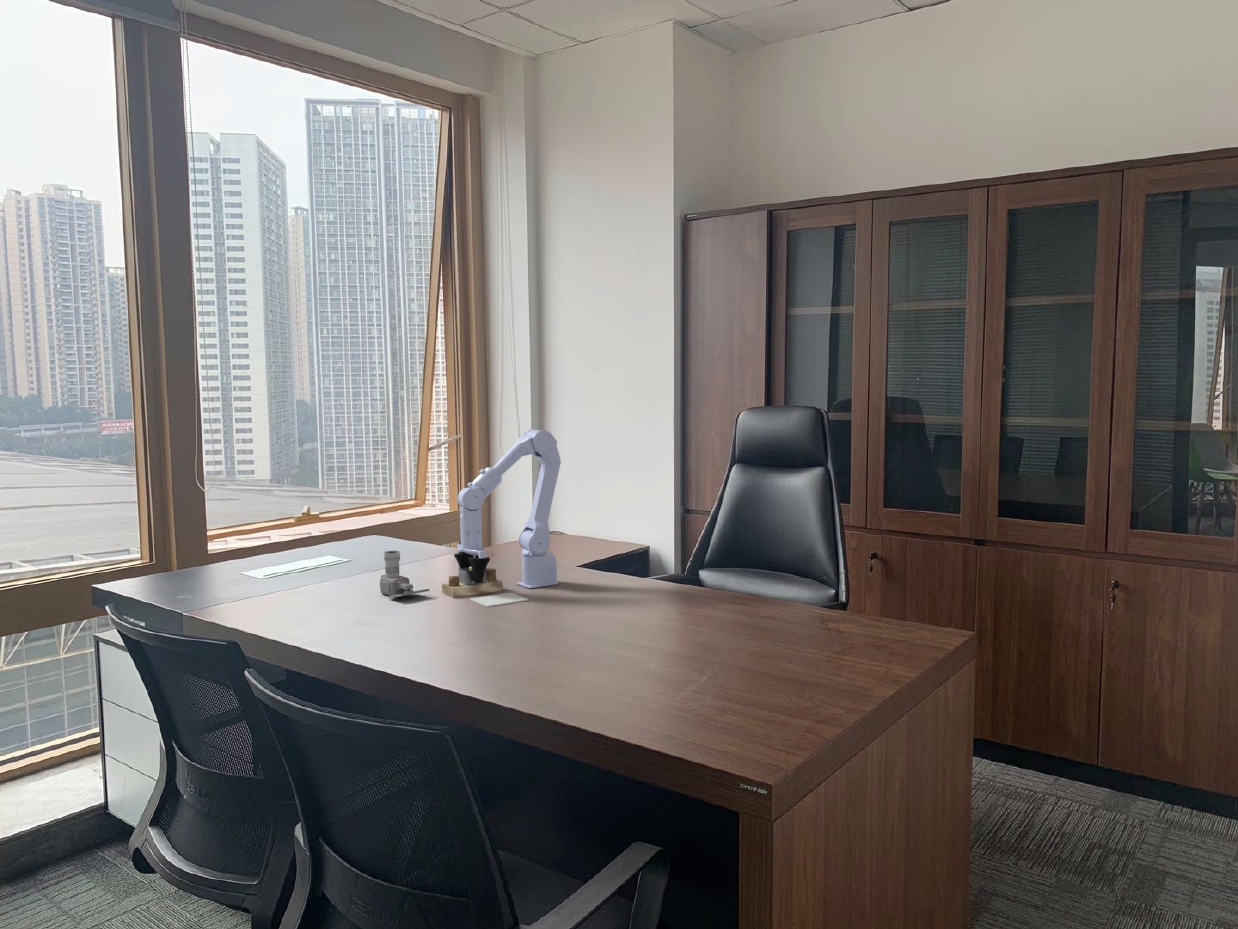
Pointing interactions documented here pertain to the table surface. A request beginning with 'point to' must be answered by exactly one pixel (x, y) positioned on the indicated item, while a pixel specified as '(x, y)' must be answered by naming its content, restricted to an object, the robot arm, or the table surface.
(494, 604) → the felt mat
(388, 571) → the camera
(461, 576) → the lever cap
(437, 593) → the table surface
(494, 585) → the body
